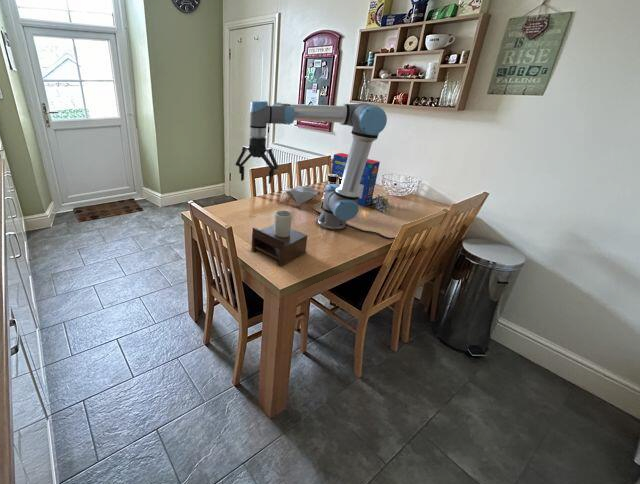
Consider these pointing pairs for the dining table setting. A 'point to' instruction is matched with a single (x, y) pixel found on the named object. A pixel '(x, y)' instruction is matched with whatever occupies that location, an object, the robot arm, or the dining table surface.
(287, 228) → the cup
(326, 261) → the dining table surface
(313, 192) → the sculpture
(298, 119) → the robot arm
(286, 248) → the shelf
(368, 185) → the pasta box
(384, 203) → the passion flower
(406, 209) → the dining table surface
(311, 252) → the dining table surface
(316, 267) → the dining table surface
